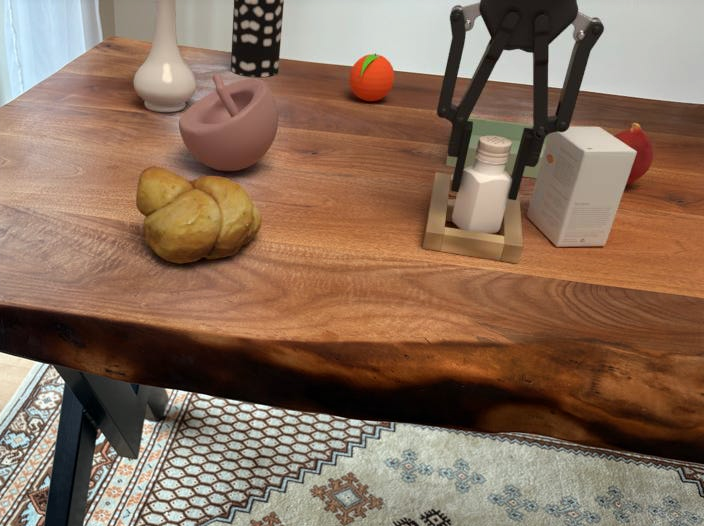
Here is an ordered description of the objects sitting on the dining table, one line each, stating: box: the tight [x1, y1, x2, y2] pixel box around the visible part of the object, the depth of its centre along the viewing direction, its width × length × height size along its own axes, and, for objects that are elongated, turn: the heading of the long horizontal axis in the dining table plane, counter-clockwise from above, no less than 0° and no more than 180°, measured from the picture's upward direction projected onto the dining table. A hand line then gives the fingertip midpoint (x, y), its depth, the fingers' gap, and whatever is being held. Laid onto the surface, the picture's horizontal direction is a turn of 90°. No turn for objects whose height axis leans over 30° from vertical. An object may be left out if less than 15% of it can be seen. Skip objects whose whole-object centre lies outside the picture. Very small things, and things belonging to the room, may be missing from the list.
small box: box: [526, 125, 637, 248], centre depth 82 cm, size 8×6×10 cm
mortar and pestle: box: [178, 72, 279, 172], centre depth 93 cm, size 12×12×12 cm
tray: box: [445, 116, 549, 179], centre depth 103 cm, size 15×13×3 cm
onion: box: [613, 122, 654, 185], centre depth 94 cm, size 6×6×8 cm
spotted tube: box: [230, 0, 285, 78], centre depth 128 cm, size 8×8×20 cm
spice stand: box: [422, 171, 524, 265], centre depth 85 cm, size 10×17×2 cm, turn 164°
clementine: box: [349, 53, 395, 102], centre depth 120 cm, size 8×7×7 cm
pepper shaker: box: [452, 135, 512, 234], centre depth 79 cm, size 4×4×10 cm
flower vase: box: [132, 0, 198, 113], centre depth 109 cm, size 13×18×25 cm
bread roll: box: [135, 165, 263, 264], centre depth 75 cm, size 13×10×8 cm
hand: (483, 190), depth 80 cm, fingers closed on pepper shaker, 5 cm apart
